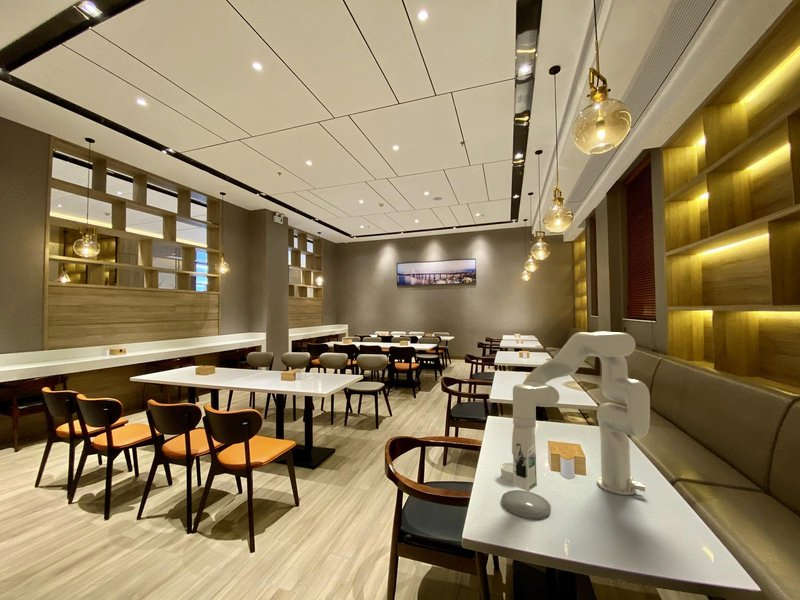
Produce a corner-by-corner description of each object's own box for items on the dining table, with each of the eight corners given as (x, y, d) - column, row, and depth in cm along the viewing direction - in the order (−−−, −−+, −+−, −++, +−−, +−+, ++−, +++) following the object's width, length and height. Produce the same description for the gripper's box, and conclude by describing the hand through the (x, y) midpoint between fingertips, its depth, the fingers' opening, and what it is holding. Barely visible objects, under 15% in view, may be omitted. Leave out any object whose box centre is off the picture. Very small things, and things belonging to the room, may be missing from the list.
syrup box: (529, 492, 111) (528, 448, 112) (512, 485, 116) (512, 443, 116) (537, 486, 115) (536, 444, 116) (521, 480, 120) (520, 439, 120)
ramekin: (525, 484, 130) (524, 473, 130) (501, 482, 132) (501, 471, 132) (521, 474, 138) (521, 463, 139) (499, 471, 140) (499, 461, 140)
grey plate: (557, 504, 116) (557, 501, 116) (541, 526, 104) (540, 522, 104) (512, 488, 126) (512, 485, 126) (493, 506, 115) (493, 502, 115)
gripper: (523, 413, 125) (524, 462, 125) (503, 424, 113) (503, 478, 112) (543, 417, 120) (544, 468, 119) (525, 429, 108) (526, 486, 107)
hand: (524, 472), depth 116 cm, fingers closed on syrup box, 6 cm apart
